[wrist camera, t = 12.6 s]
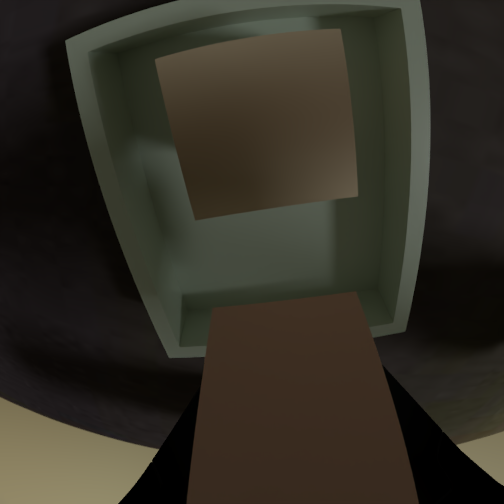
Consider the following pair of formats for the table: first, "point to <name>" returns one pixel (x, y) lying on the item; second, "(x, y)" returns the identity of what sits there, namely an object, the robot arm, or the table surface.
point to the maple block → (262, 121)
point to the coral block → (296, 409)
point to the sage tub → (268, 220)
